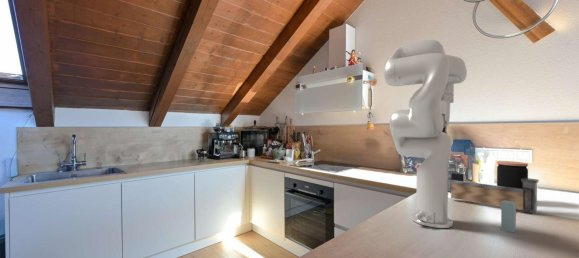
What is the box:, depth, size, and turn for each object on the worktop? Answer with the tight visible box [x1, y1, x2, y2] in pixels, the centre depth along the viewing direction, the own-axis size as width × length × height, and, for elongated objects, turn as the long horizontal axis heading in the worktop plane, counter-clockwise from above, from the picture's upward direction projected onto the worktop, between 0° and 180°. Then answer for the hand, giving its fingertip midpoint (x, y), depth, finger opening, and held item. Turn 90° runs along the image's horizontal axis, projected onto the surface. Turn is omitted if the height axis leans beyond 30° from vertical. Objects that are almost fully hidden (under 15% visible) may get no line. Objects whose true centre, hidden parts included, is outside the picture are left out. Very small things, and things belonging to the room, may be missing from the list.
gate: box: [450, 180, 531, 213], centre depth 107 cm, size 27×2×8 cm, turn 46°
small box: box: [448, 170, 465, 194], centre depth 134 cm, size 11×6×10 cm, turn 168°
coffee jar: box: [496, 160, 529, 189], centre depth 115 cm, size 11×11×18 cm
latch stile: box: [500, 200, 517, 233], centre depth 81 cm, size 3×3×9 cm
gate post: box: [521, 177, 540, 214], centre depth 100 cm, size 4×4×13 cm
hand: (442, 142), depth 107 cm, fingers closed
